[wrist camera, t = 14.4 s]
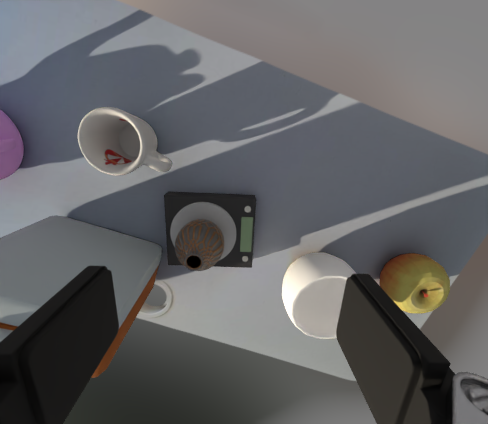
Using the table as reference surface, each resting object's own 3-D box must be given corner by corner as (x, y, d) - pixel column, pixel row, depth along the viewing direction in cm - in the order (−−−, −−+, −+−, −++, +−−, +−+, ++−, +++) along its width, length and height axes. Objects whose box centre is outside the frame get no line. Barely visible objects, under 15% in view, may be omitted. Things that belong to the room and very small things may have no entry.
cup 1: (190, 141, 37) (177, 143, 29) (167, 185, 39) (149, 198, 31) (123, 101, 35) (90, 92, 27) (102, 150, 37) (67, 154, 29)
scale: (168, 191, 39) (162, 196, 36) (255, 195, 40) (256, 199, 37) (171, 258, 43) (167, 266, 40) (251, 260, 43) (251, 269, 40)
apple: (376, 245, 43) (406, 270, 35) (431, 245, 43) (472, 269, 35) (367, 293, 46) (393, 325, 38) (418, 292, 46) (454, 324, 38)
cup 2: (286, 235, 42) (299, 264, 33) (354, 247, 43) (385, 278, 34) (270, 295, 45) (278, 336, 36) (333, 305, 46) (356, 347, 37)
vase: (176, 218, 37) (158, 242, 29) (220, 209, 37) (214, 231, 29) (188, 257, 39) (174, 290, 31) (229, 249, 39) (227, 281, 31)
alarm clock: (50, 257, 42) (-114, 363, 23) (55, 211, 40) (-123, 286, 20) (154, 285, 44) (87, 405, 25) (165, 244, 42) (101, 340, 22)
